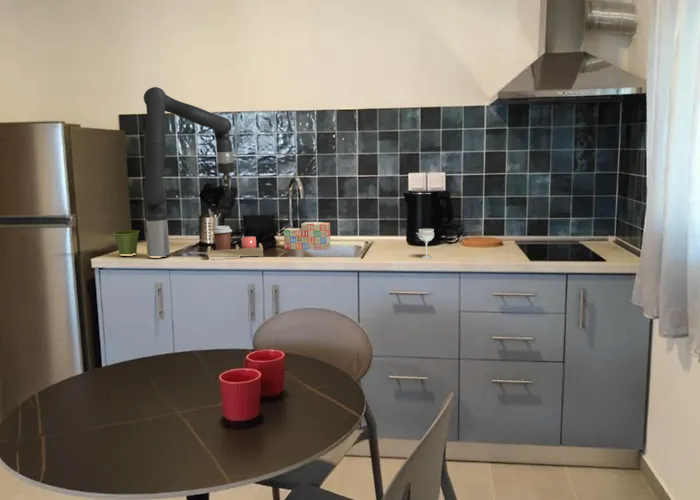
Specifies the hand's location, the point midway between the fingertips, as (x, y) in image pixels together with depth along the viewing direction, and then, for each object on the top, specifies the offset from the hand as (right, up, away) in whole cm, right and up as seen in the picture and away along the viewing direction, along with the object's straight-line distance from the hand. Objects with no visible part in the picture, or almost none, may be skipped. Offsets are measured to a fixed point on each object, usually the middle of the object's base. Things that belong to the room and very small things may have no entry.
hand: (228, 196), depth 307 cm
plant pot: (-46, -28, -1) cm, 54 cm away
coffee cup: (-2, -26, +2) cm, 26 cm away
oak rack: (+5, -27, -9) cm, 29 cm away
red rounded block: (+11, -27, -7) cm, 30 cm away
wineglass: (+89, -28, -27) cm, 98 cm away
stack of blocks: (+37, -24, +6) cm, 44 cm away
